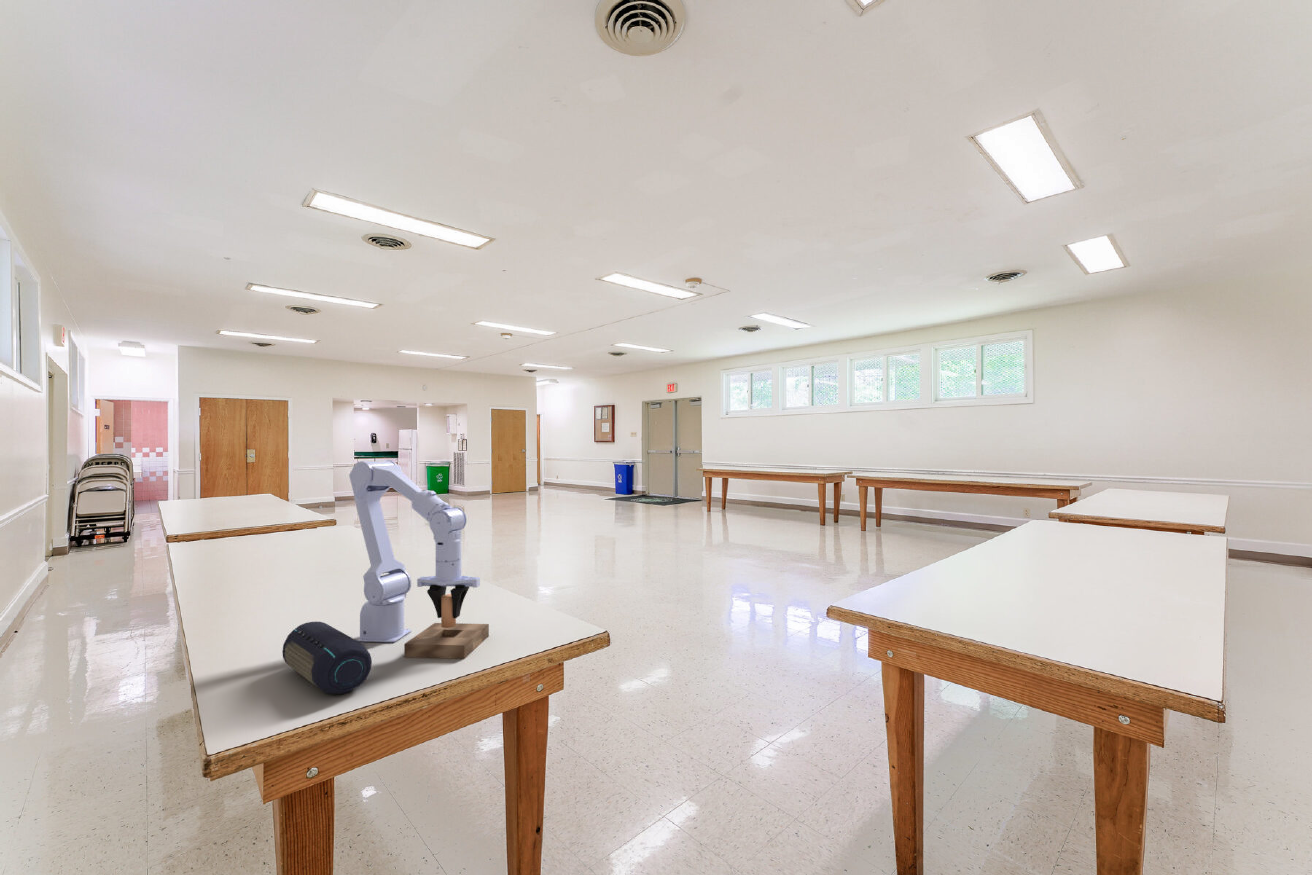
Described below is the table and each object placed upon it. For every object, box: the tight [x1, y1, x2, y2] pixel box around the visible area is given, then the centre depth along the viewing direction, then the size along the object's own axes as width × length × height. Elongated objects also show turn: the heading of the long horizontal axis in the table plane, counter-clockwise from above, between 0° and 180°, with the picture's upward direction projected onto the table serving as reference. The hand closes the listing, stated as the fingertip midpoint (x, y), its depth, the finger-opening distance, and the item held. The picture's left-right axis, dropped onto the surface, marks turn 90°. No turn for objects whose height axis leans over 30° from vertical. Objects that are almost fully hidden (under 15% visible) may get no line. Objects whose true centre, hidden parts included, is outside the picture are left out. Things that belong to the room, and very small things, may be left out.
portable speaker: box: [282, 621, 373, 695], centre depth 110 cm, size 25×10×10 cm, turn 51°
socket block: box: [403, 622, 490, 660], centre depth 127 cm, size 14×14×3 cm
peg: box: [440, 593, 457, 628], centre depth 127 cm, size 3×3×7 cm
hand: (448, 616), depth 127 cm, fingers closed on peg, 3 cm apart
